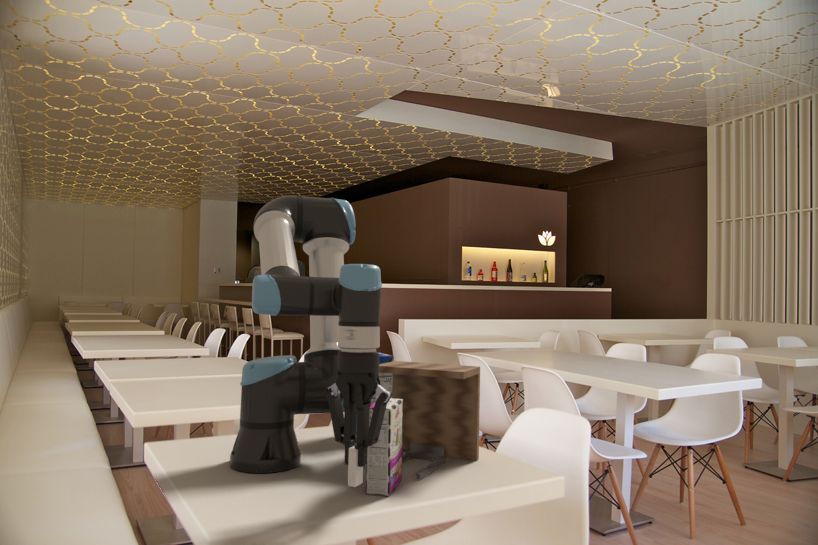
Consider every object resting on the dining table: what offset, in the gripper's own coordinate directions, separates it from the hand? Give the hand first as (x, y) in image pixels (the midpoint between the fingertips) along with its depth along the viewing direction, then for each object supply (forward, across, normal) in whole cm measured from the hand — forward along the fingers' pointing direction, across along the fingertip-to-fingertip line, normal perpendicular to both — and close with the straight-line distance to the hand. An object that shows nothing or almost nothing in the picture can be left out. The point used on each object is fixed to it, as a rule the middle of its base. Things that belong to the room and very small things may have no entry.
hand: (355, 484), depth 101 cm
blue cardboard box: (+3, -21, +48) cm, 53 cm away
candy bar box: (+4, 0, +12) cm, 13 cm away
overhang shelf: (+4, 0, +30) cm, 30 cm away
